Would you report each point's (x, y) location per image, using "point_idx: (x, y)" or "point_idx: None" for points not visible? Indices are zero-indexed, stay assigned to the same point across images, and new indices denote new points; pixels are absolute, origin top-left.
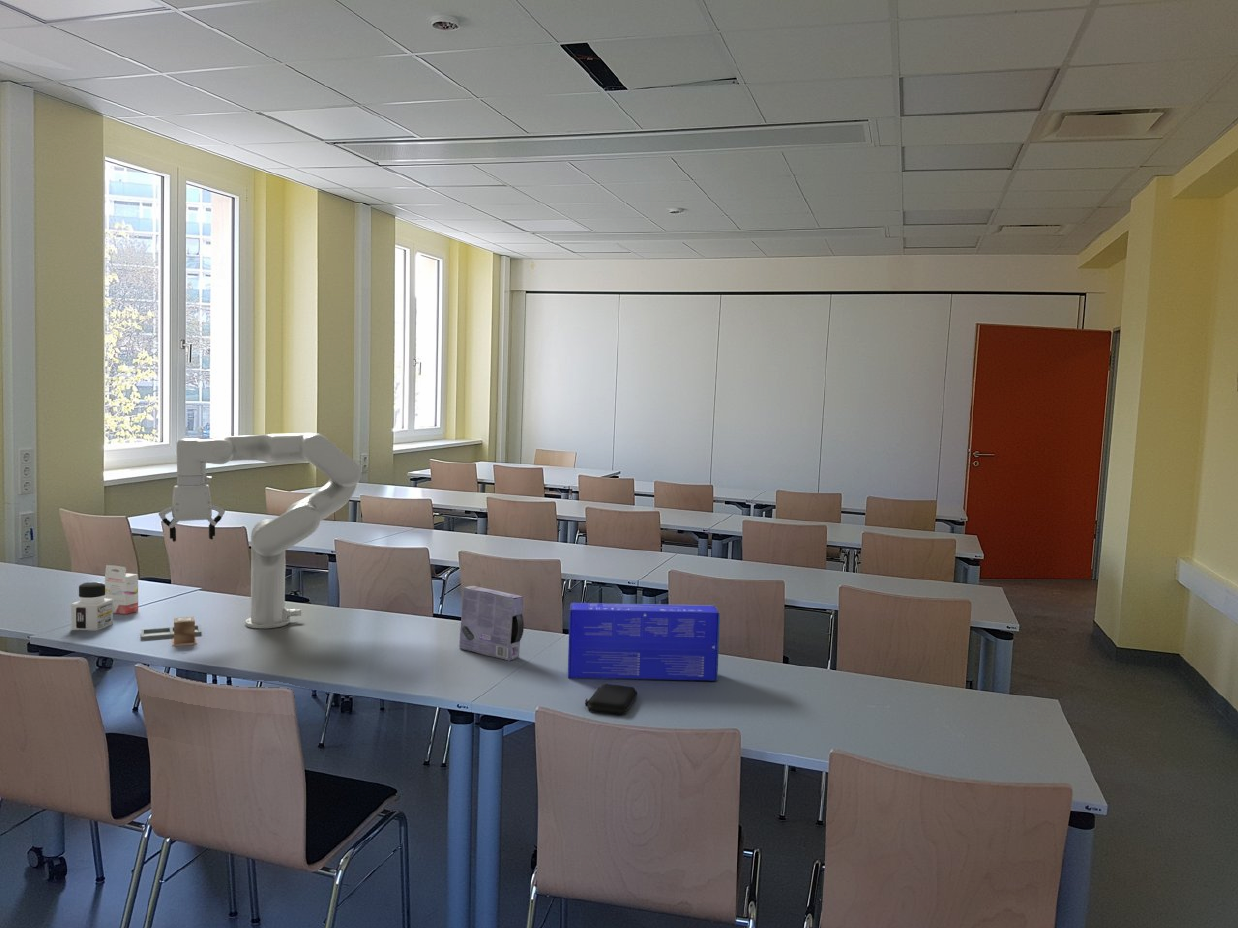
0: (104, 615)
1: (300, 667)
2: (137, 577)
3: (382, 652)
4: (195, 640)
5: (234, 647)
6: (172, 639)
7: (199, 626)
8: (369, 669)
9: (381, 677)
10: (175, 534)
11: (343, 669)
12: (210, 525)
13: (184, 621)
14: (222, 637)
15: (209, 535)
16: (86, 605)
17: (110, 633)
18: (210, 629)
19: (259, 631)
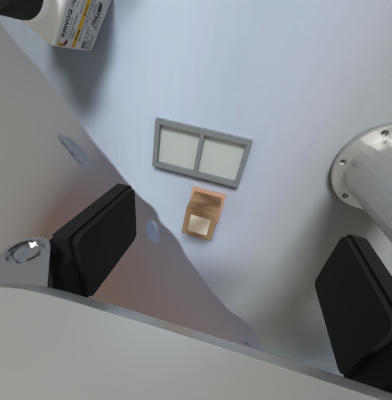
0: (83, 24)
1: (277, 336)
2: None
3: None
4: (219, 212)
5: (254, 255)
6: (193, 190)
7: (247, 152)
8: (325, 369)
9: None
10: (113, 264)
11: (306, 358)
12: (361, 377)
13: (196, 235)
14: (262, 207)
15: (332, 278)
16: (29, 26)
17: (113, 82)
18: (267, 150)
19: (329, 208)
